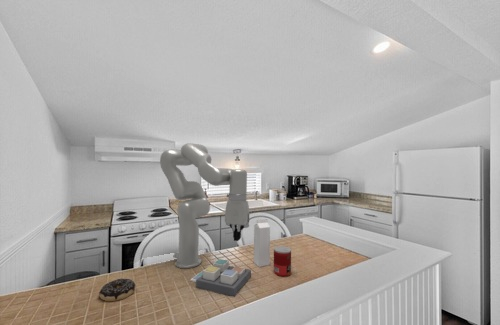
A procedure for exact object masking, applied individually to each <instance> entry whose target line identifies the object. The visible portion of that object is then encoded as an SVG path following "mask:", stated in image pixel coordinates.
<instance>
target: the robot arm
mask: <svg viewBox="0 0 500 325" xmlns="http://www.w3.org/2000/svg"><path fill="white" fill-rule="evenodd" d="M180 148H181V149H166V150H164V151H162V153H161V155H160V159H159V164H160V168H161V170H162V172H163V174H164V176H165V177H166V179H167V182H168V184H169V187H170V189H171V191H172V194H173V196H174V198H175V199H176V200H178V201H181V202H180V203H179V204H178V206H177V216H178V225H179V227H178V228H179V229H178V230H179V231H178V234H179V235H178V251H175V252H174V254H173V255H172V257H173V258H174V259H175V258H176V261H175V263H174V264H175V267H177V268H179V269H192V268H195V267H197V266H198V267H199V265H201V264H202V259H201V258H200V257H199V243H200V242H199V235H200V234H199V233H200V229H199V224H198V221H197V220H196V219H197V218H201V217H204V216H206V215H208V214H209V212H210V210H211V206H210V205H211V204H210V202H209V199H208V197H207V194H206V193H205V191H204V189H203V186H202V185H201V183H199V182H197V181H194V180H189V181H188V180H187V179H186V177H185V174H184V173H183V171H182V170H181V169H180V168H179V167H178V166H181V167H182V166H184V167H185V166H187V167H188V166H191V165H193V166H194V167H196V169H197V172H198V174H199V176H200V178H201V179H203V180H204V181H205V182H206V183H208V184H210V185H212V186H215V187H216V186H218V187H219V186H229V192H228V194H226V198H228V199H227V201H226V206H225V213H224V222H225V226H228V227H230V228H231V230H232V232H233V235H232V237H233V241H234V242H235V241H236V242H238V241H240V240H241V238H242V230H244V229H247V228H249V227H250V206H249V201H248V200H247V193H248V192H247V190H248V189H247V187H248V184H247V183H248V181H247V180H248V172H247V170H246V169H234V168H233V169H232V168H219V167H218V168H217V167H215V166H213V165H212V164H211V163H212V156H211V155H210V154H209V151H208V148H207V147H206V146H205V145H203V144H199V143H191V142H190V143H188V142H187V143H185V144H183V145H182V146H181V147H180ZM183 200H184V201H183Z"/></svg>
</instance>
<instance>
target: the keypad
mask: <svg viewBox="0 0 500 325" xmlns="http://www.w3.org/2000/svg"><path fill="white" fill-rule="evenodd" d="M234 267H235V266H233V265H232V266H231V265H229V268H228V270H232V269H233V268H234ZM244 269H245V273H244V274H243V275H242V276H241V277H240V276H237V280H236V282H235V283H234V284H233V285H228V284H224V283H221V274H222V272H220V276H219V277H218V278H217V279H216V280H215V281H210V280H206V279H203V275H202V276H201V277H199V278H198V279H197V280H196V282H195V289H196V288H197V289H201V290H205V291H209V292H212V293H217V294H221V295H225V296H230V297H232V298H233V297H235V296H236V295H237V294H238V293H239V292H240V291H241V289H242V288H243V287H244V286H245V285H246V283H247V282H248V281H249V280H250V278H251V277H252V273H251V272H252V270H251V269H248V268H244Z"/></svg>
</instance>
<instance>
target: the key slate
mask: <svg viewBox="0 0 500 325" xmlns="http://www.w3.org/2000/svg"><path fill="white" fill-rule="evenodd" d="M237 275H238V271H233V270H228V269H226V270H225V271H224V272H223V273H222V274H221V283H224V284H228V285H233V284H234V283H235V282H236V280H237Z"/></svg>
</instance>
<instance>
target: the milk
mask: <svg viewBox="0 0 500 325" xmlns="http://www.w3.org/2000/svg"><path fill="white" fill-rule="evenodd" d="M270 251H271V226H270V224H269V223H268V219H258V220H256V223H255V224H254V225H253V263H254V264H255V266H258V268H261V267H266V266H270V263H271V262H270V261H271V260H270V259H271V252H270Z"/></svg>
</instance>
